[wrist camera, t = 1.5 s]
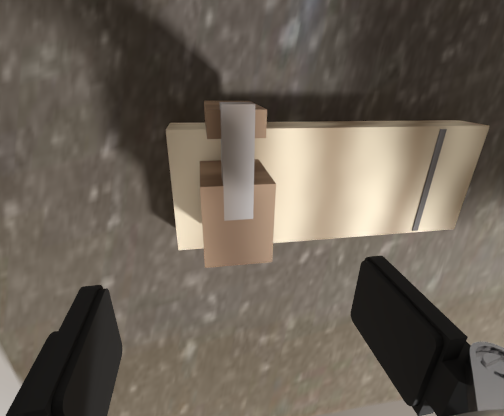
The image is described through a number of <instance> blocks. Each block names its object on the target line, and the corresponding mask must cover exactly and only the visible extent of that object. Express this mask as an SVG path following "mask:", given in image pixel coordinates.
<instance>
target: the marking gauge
mask: <svg viewBox="0 0 504 416" xmlns="http://www.w3.org/2000/svg"><path fill="white" fill-rule="evenodd" d="M204 113H205V127H206V134H207V139H221V160H216V161H200V197H201V213H202V228H203V244H204V260H205V268H209V267H220V266H232V265H243V264H255V263H266V262H272V253H273V234H274V215H275V196H276V183H275V182H274V180H273V179H272V177H271V176H270V175H269V173H268V172H267V170H266V169H265V167H264V166H263V165H262V163H261V162H260V160H259V159H254V153H255V138H266V126H267V109H265V108H263V107H261V106H259V105H257V104H255V103H253V102H251V101H204Z"/></svg>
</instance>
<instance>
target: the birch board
mask: <svg viewBox="0 0 504 416" xmlns="http://www.w3.org/2000/svg"><path fill="white" fill-rule="evenodd" d="M489 127H490V126H489V125H483V124H477V123H472V122H466V121H460V120H423V121H315V122H267V126H266V138H255V153H254V159H259V160H260V162H261V163H262V165H263V166H264V167H265V169H266V170H267V172H268V173H269V175H270V176H271V177H272V179H273V180H274V182H275V183H276V196H275V215H274V234H273V243H279V242H292V241H306V240H319V239H332V238H345V237H358V236H371V235H384V234H397V233H410V232H423V231H436V230H450V229H454V228H455V225H456V222H457V219H458V216H459V213H460V210H461V208H462V205H463V202H464V199H465V196H466V193H467V190H468V187H469V184H470V182H471V179H472V176H473V173H474V170H475V167H476V164H477V161H478V159H479V156H480V153H481V150H482V147H483V144H484V141H485V138H486V136H487V133H488V130H489ZM166 138H167V147H168V156H169V166H170V175H171V184H172V194H173V203H174V213H175V222H176V231H177V241H178V250H188V249H201V248H204V244H203V228H202V213H201V197H200V161H216V160H221V139H207V134H206V127H205V123H169V125H168V127H167V128H166Z"/></svg>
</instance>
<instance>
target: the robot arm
mask: <svg viewBox="0 0 504 416" xmlns="http://www.w3.org/2000/svg"><path fill="white" fill-rule="evenodd" d="M351 318H352V321H353V323H354V324H355V326H356V327H357V329H358V330H359V332H360V334H361V335H362V337H363V338H364V340H365V341H366V343H367V344H368V346H369V347H370V349H371V350H372V352H373V354H374V355H375V357H376V358H377V360H378V361H379V363H380V364H381V366H382V367H383V369H384V370H385V372H386V374H387V375H388V377H389V378H390V380H391V381H392V383H393V384H394V386H395V387H396V389H397V390H398V392H399V393H400V395H401V397H402V398H403V400H404V401H405V402H406V404H408V405H409V406H412V407H413V409H414V410H415V412H416V413H417V415H418V416H422V415H426V414H431V413H433V412H435V413H436V415H437V416H504V348H503V347H500V346H498V345H495V344H492V343H488V342H476V343H473V344H472V345H471V346H470V345H469V344H468V343H467V342H466V340H467V336H466V335H465V334H464V333H463V332H462V331H461V330H460V329H458V328H457V327H456V326H455V325H454V324H453V323H452V322H451V321H450V320H449V319H448V318H447V317H446V316H445V315H444V314H443V313H442V312H441V311H440V310H439V309H438V308H436V307H435V306H434V305H433V304H432V303H431V302H430V301H429V300H428V299H427V298H426V297H425V296H424V295H423V294H422V293H421V292H420V291H419V290H418V289H417V288H416V287H415V286H413V285H412V284H411V283H410V282H409V281H408V280H407V279H406V278H405V277H404V276H403V275H402V274H401V273H400V272H399V271H398V270H397V269H396V268H395V267H394V266H393V265H392V264H390V263H389V262H388V261H387V260H386V259H385V258H384V257H383V256H372V257H367V258H366V259H365V260H364V261H363V262H362V263H361V266H360V271H359V276H358V281H357V285H356V290H355V295H354V300H353V304H352V309H351ZM121 356H122V343H121V339H120V334H119V330H118V326H117V322H116V318H115V314H114V310H113V306H112V302H111V298H110V294H109V290H108V289H103V287H102V286H101V285H94V286H85V287H81V289H80V290H79V292H78V294H77V296H76V298H75V300H74V302H73V304H72V306H71V308H70V310H69V311H68V313H67V315H66V317H65V319H64V321H63V323H62V325H61V327H60V329H59V331H56V332H53V333H51V334H50V335H49V337H48V338H47V340H46V342H45V344H44V345H43V347H42V349H41V351H40V353H39V355H38V357H37V358H36V360H35V362H34V364H33V366H32V368H31V369H30V371H29V373H28V375H27V377H26V379H25V381H24V382H23V384H22V386H21V388H20V390H19V392H18V394H17V395H16V397H15V399H14V401H13V403H12V405H11V406H10V409H9V410H8V412H7V414H6V416H107V414H108V410H109V405H110V401H111V397H112V393H113V389H114V385H115V381H116V377H117V373H118V369H119V365H120V360H121Z"/></svg>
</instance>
